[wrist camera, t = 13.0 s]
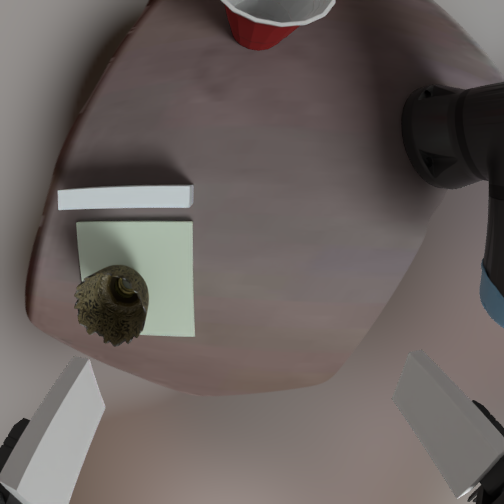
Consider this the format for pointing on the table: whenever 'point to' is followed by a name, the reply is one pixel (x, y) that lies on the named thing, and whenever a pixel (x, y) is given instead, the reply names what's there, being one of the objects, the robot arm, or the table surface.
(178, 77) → the table surface
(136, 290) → the cup
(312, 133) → the table surface
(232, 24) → the plastic cup
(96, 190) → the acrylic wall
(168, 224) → the green pad
